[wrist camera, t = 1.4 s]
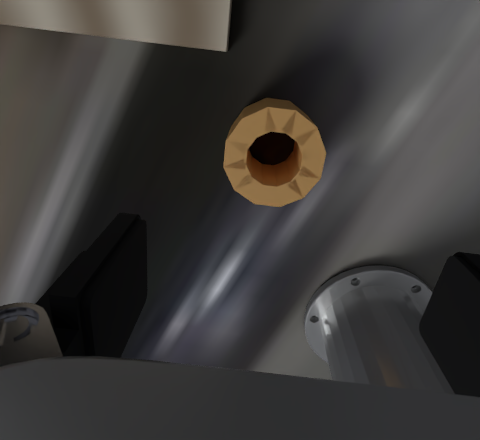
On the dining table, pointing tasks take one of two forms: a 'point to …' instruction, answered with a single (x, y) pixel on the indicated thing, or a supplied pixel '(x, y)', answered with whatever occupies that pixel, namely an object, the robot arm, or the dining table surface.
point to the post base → (129, 19)
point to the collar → (282, 174)
